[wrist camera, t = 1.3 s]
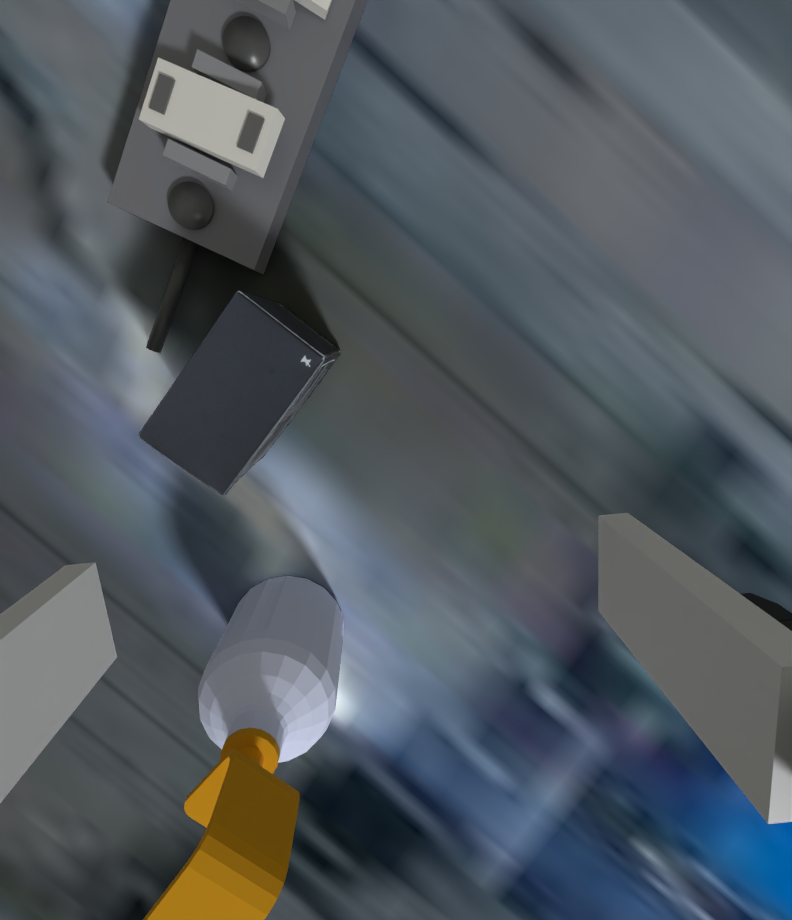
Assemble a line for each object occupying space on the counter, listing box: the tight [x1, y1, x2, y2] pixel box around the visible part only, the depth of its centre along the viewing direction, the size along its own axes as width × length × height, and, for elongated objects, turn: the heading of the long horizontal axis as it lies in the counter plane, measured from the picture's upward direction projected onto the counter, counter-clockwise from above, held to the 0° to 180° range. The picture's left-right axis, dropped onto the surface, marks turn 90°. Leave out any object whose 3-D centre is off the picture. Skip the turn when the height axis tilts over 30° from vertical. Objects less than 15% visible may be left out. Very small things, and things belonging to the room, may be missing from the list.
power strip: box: [108, 0, 367, 353], centre depth 35 cm, size 10×32×5 cm, turn 156°
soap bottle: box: [143, 576, 343, 920], centre depth 34 cm, size 9×9×25 cm
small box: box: [139, 291, 341, 495], centre depth 36 cm, size 11×6×10 cm, turn 142°
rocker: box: [139, 58, 285, 178], centre depth 33 cm, size 8×4×1 cm, turn 66°
